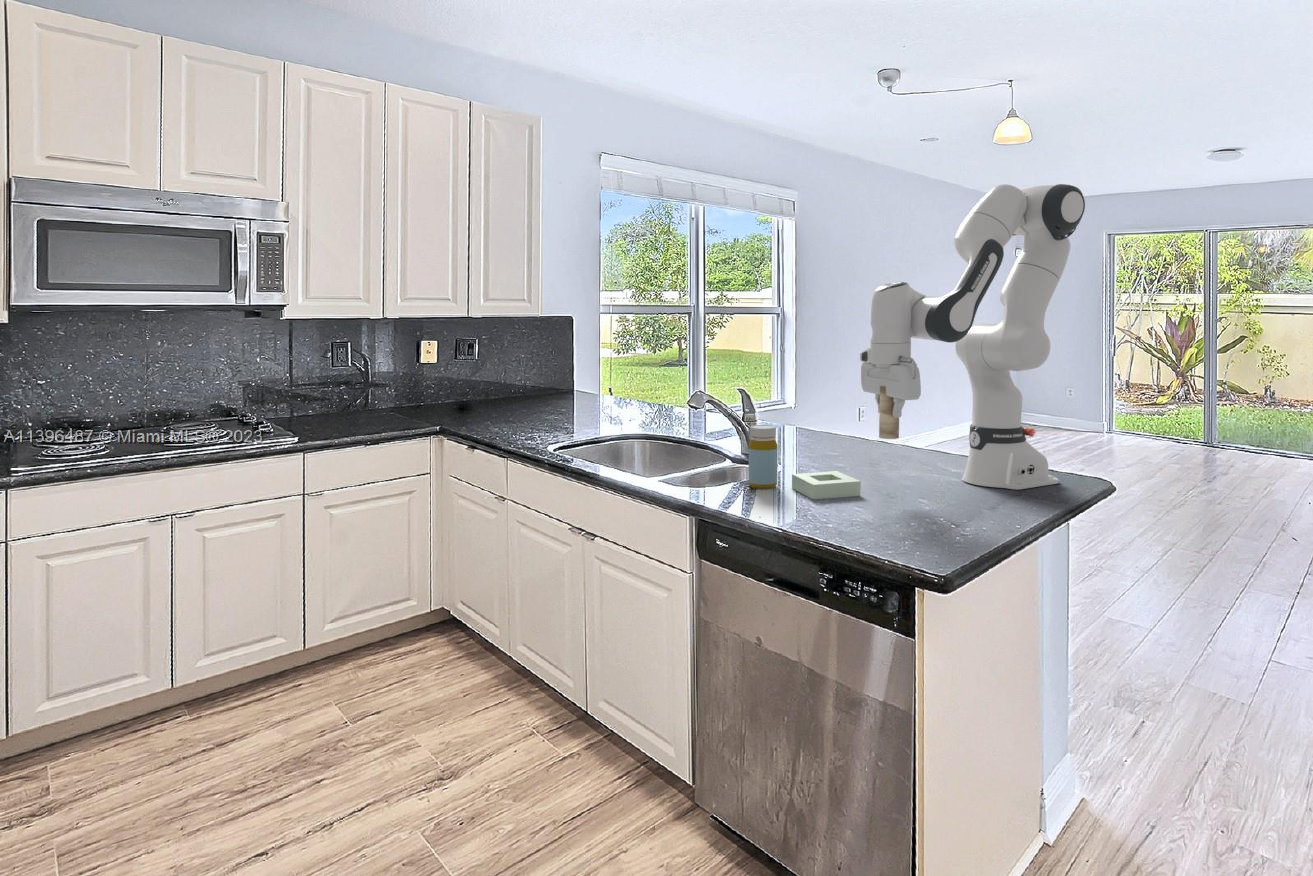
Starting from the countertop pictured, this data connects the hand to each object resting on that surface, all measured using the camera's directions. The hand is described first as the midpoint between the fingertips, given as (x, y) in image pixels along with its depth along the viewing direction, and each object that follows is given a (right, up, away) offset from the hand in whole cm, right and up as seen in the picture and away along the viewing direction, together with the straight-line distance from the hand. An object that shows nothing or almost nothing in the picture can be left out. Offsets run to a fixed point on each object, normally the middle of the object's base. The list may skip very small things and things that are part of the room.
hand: (889, 415), depth 180 cm
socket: (-13, -18, +7) cm, 24 cm away
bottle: (-27, -17, +14) cm, 35 cm away
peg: (0, -5, +1) cm, 5 cm away
